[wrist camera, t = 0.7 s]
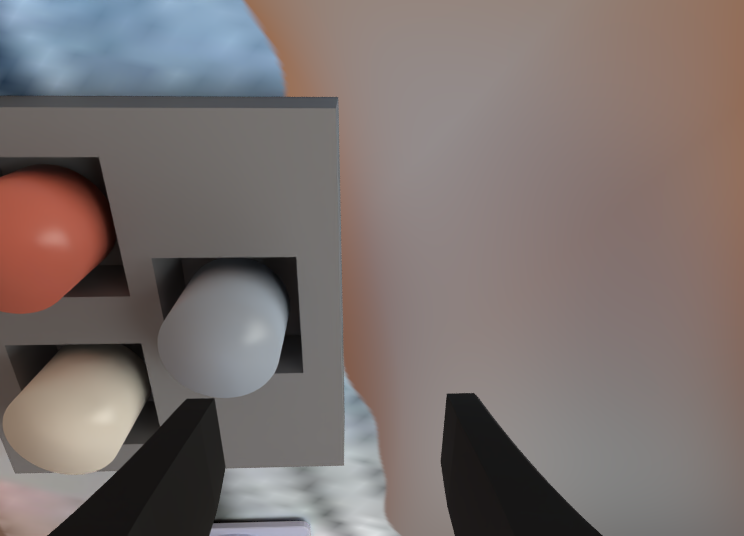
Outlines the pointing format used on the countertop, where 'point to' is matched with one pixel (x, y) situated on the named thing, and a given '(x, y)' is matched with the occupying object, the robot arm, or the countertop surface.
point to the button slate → (226, 328)
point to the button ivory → (78, 408)
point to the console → (196, 252)
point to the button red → (49, 235)
